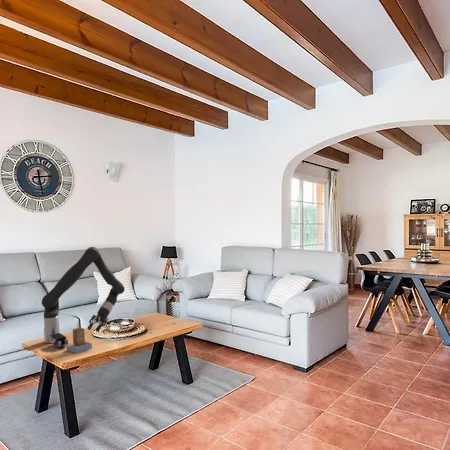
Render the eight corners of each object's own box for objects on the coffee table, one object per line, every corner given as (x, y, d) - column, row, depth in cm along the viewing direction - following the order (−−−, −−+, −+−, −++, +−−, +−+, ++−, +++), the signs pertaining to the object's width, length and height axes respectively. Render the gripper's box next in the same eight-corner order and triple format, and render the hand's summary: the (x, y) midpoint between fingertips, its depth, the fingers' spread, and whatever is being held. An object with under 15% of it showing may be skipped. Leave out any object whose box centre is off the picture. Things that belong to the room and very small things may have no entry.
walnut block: (73, 345, 245) (72, 329, 245) (80, 342, 250) (79, 327, 249) (78, 346, 243) (77, 330, 242) (84, 343, 247) (84, 328, 247)
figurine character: (69, 349, 251) (59, 342, 261) (69, 338, 250) (59, 331, 260) (59, 352, 246) (49, 344, 256) (59, 341, 245) (49, 333, 255)
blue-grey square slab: (66, 350, 245) (66, 345, 245) (81, 345, 254) (81, 340, 254) (77, 353, 239) (76, 348, 239) (91, 347, 248) (91, 343, 248)
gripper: (95, 305, 266) (82, 326, 256) (109, 307, 258) (96, 328, 249) (102, 311, 270) (89, 331, 261) (115, 313, 262) (103, 334, 253)
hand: (92, 330), depth 255 cm, fingers open, 8 cm apart
